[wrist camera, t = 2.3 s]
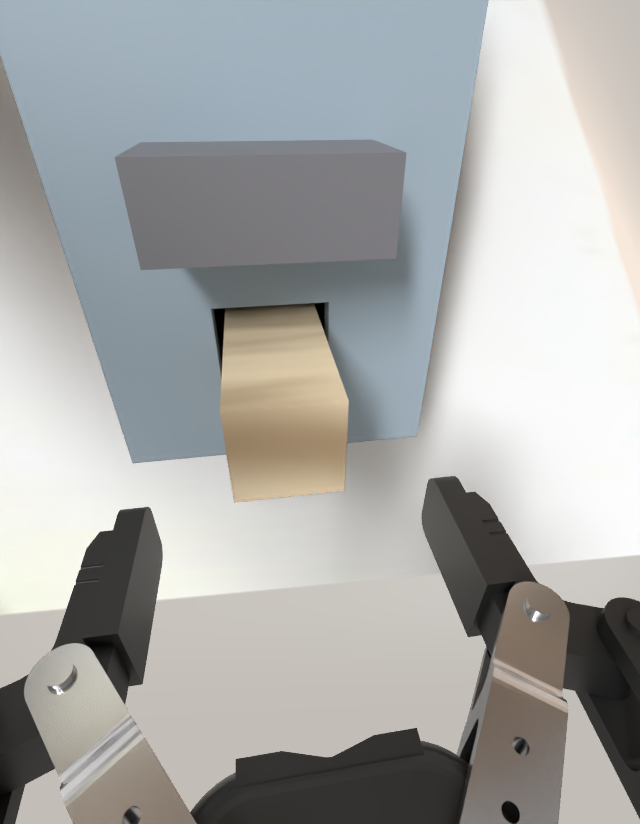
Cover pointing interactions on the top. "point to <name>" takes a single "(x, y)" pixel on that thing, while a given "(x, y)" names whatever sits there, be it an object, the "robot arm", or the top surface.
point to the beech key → (281, 404)
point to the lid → (248, 186)
